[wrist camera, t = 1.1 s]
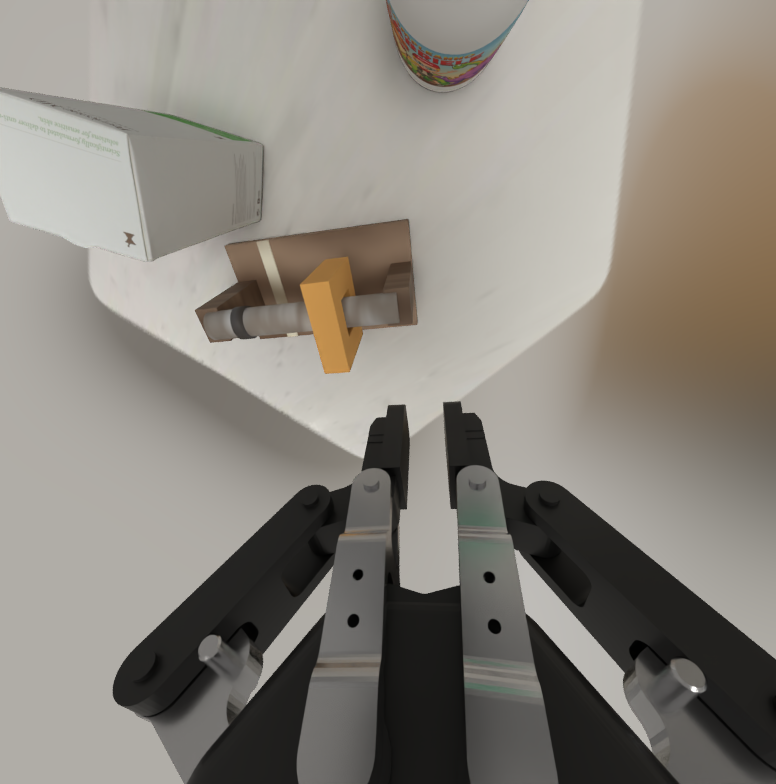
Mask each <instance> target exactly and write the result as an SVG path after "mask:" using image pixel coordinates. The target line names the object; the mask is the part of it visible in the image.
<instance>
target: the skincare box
mask: <svg viewBox="0 0 776 784" xmlns="http://www.w3.org/2000/svg"><path fill="white" fill-rule="evenodd" d="M262 159H263V146H262V144H260V143H257V142H254V141H251V140H248V139H245V138H242V137H239V136H236V135H233V134H230V133H227V132H223V131H220V130H217V129H214V128H211V127H207V126H204V125H201V124H198V123H195V122H192V121H189V120H186V119H183V118H180V117H177V116H174V115H169V114H164V113H158V112H151V111H145V110H139V109H133V108H127V107H121V106H114V105H108V104H102V103H96V102H90V101H83V100H76V99H70V98H64V97H58V96H51V95H45V94H38V93H32V92H26V91H20V90H13V89H7V88H0V197H1V199H2V202H3V205H4V208H5V210H6V213H7V216H8V219H9V220H10V221H11V222H13V223H17V224H20V225H24V226H27V227H30V228H33V229H36V230H39V231H43V232H46V233H49V234H52V235H55V236H59V237H62V238H65V239H66V240H68V241H69V242H71V243H73V244H75V245H78V246H80V247H84V248H94V247H96V248H100V249H103V250H106V251H110V252H113V253H116V254H120V255H123V256H127V257H130V258H134V259H137V260H141V261H144V262H151V261H154V260H155V259H157V258H159V257H162V256H165V255H167V254H170V253H173V252H175V251H178V250H181V249H183V248H186V247H189V246H192V245H194V244H197V243H200V242H203V241H205V240H208V239H211V238H213V237H216V236H219V235H222V234H224V233H227V232H230V231H233V230H235V229H238V228H241V227H244V226H247V225H249V224H252V223H255V222H258V221H260V220H261V194H262Z"/></svg>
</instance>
